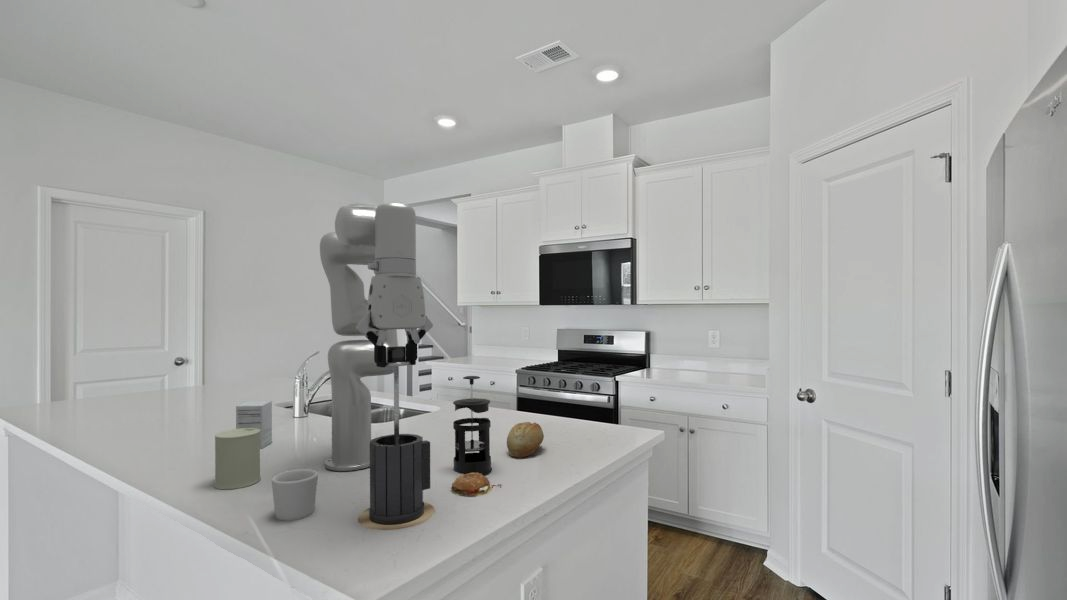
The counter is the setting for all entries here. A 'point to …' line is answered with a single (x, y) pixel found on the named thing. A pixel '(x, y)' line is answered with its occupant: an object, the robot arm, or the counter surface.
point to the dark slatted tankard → (398, 478)
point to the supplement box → (256, 419)
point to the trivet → (428, 513)
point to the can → (237, 458)
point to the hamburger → (472, 485)
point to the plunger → (396, 381)
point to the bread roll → (524, 439)
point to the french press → (472, 460)
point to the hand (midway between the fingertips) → (396, 364)
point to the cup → (294, 493)
